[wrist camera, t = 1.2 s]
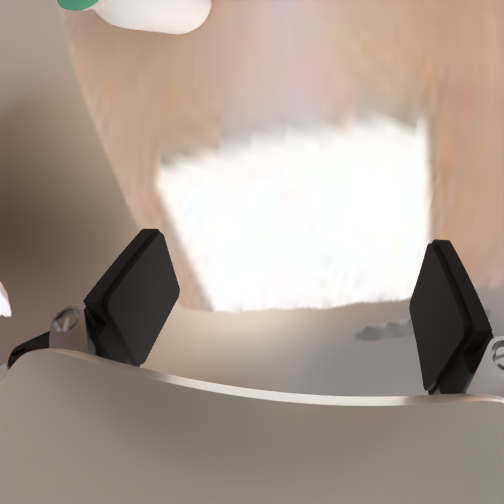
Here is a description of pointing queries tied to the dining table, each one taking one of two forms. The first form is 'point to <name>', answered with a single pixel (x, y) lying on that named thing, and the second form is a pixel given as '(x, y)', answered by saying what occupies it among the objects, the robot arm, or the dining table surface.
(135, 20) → the milk bottle
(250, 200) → the dining table surface
